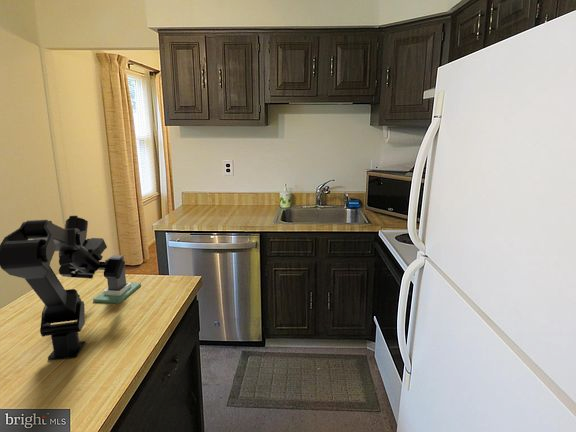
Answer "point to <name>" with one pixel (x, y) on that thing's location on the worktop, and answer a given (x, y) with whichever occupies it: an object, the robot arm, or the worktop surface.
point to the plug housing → (117, 284)
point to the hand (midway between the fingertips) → (105, 277)
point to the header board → (117, 294)
